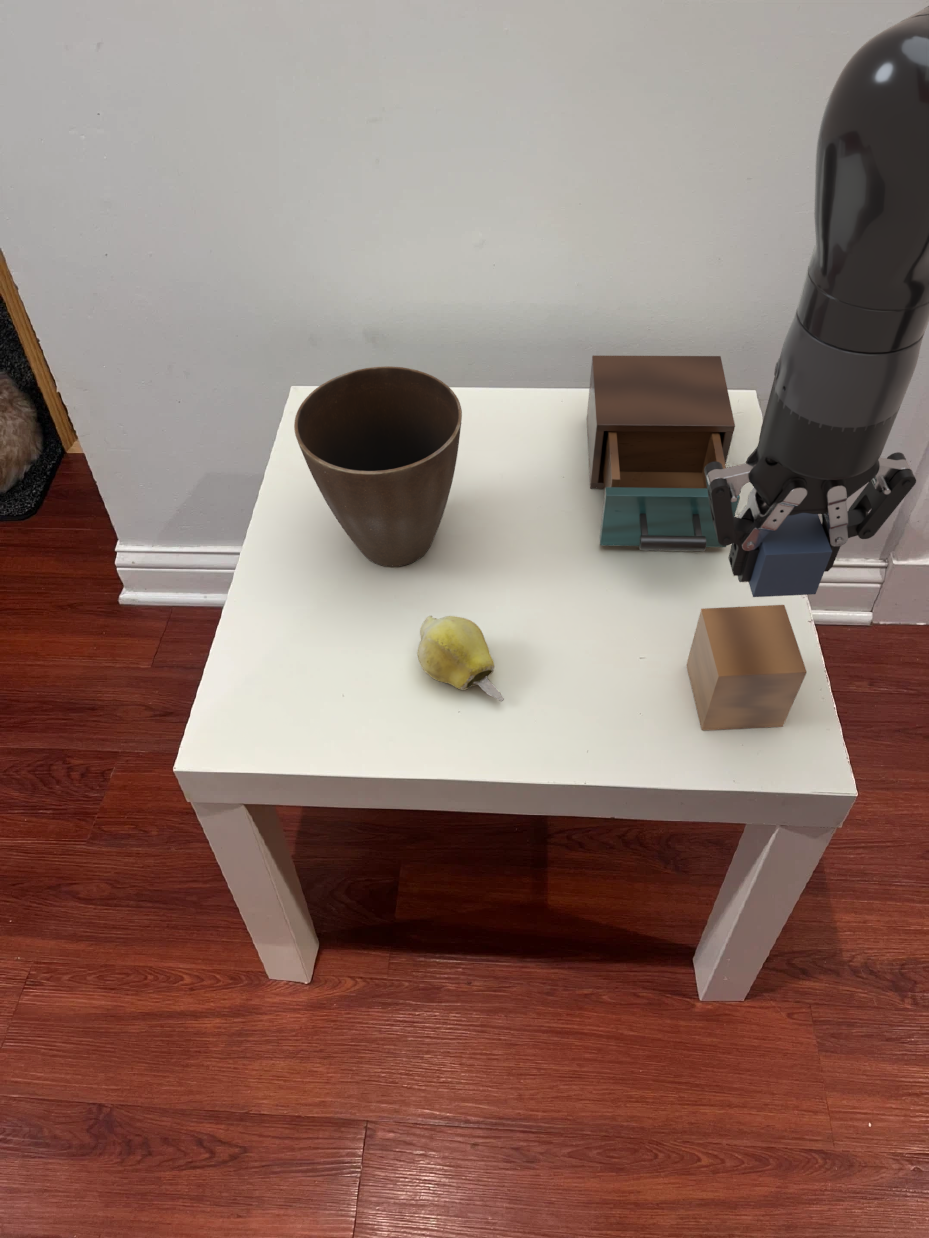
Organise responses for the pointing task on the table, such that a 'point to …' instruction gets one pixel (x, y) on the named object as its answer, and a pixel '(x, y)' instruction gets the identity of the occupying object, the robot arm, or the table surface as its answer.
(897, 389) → the robot arm
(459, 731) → the table surface
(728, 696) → the cube
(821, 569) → the block
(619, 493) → the drawer
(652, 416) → the cabinet
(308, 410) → the flower pot
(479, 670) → the fruit
